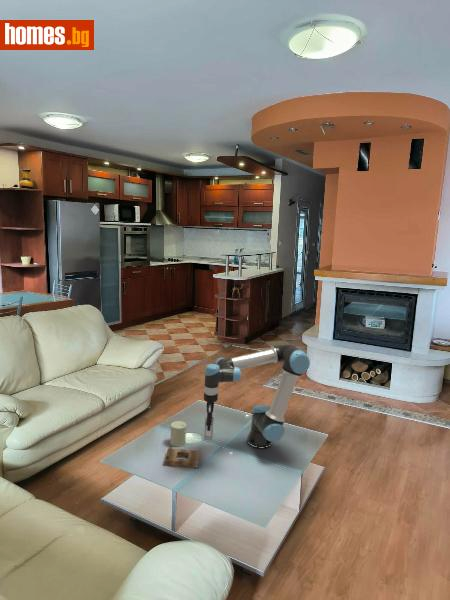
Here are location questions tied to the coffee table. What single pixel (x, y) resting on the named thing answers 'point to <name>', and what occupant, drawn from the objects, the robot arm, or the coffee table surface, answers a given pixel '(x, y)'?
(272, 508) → the coffee table surface
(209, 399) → the robot arm
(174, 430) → the can
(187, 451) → the jig
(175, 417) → the coffee table surface
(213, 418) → the grey square block
